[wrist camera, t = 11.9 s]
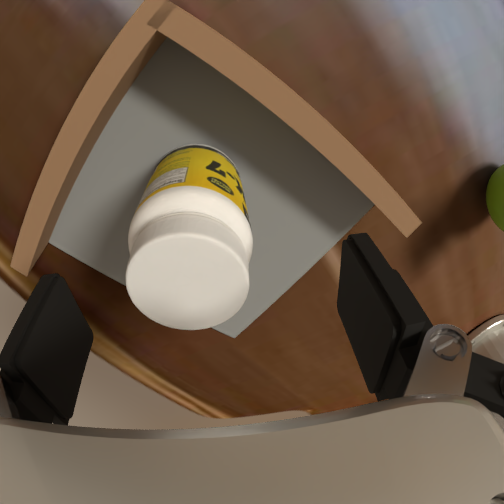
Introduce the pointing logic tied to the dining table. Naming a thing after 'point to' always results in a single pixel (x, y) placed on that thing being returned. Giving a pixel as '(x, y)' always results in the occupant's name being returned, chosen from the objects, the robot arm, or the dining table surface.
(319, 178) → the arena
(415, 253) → the dining table surface
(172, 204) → the supplement bottle
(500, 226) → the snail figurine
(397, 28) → the dining table surface
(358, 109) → the dining table surface
